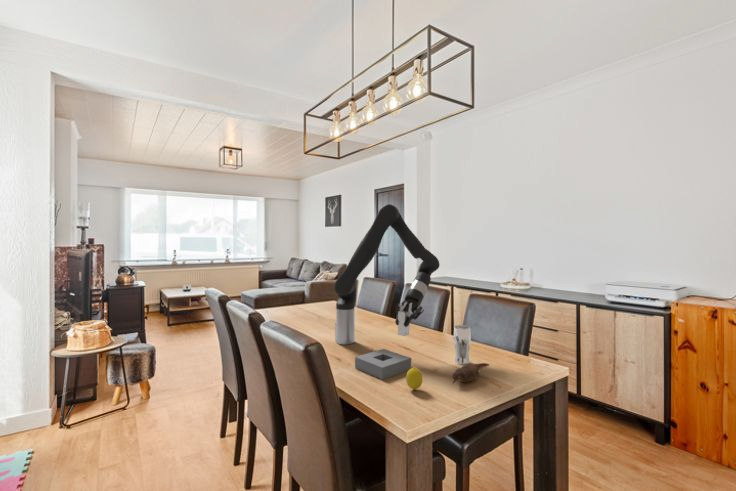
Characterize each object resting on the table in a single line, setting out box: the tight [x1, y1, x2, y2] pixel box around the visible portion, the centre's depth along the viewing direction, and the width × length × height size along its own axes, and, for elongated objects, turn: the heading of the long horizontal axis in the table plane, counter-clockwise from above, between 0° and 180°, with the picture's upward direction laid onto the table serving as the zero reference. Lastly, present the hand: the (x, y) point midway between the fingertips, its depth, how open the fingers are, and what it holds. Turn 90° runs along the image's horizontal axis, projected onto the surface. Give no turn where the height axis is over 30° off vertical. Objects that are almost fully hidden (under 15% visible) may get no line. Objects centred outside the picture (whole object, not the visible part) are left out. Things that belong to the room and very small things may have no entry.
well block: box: [354, 348, 412, 381], centre depth 144 cm, size 16×16×4 cm
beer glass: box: [453, 324, 472, 366], centre depth 151 cm, size 7×7×15 cm
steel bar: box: [397, 310, 410, 337], centre depth 153 cm, size 4×4×10 cm
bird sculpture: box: [452, 362, 490, 384], centre depth 133 cm, size 7×25×5 cm, turn 134°
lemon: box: [405, 366, 423, 391], centre depth 124 cm, size 6×6×8 cm
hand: (401, 324), depth 152 cm, fingers closed on steel bar, 3 cm apart
